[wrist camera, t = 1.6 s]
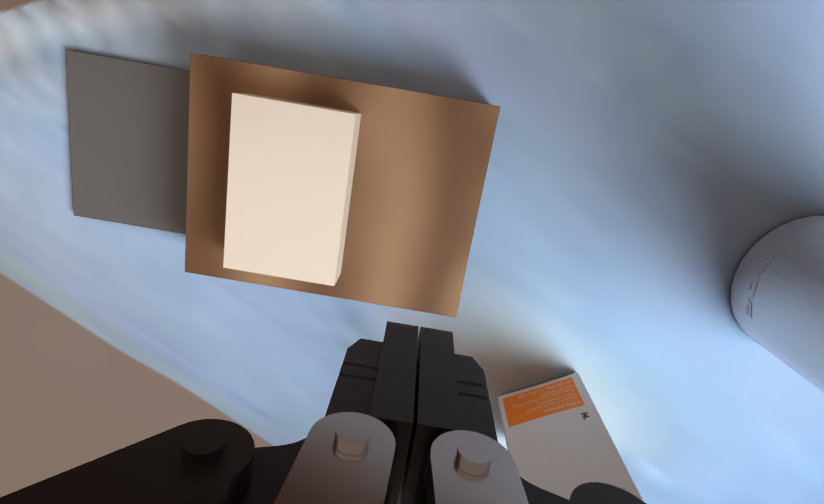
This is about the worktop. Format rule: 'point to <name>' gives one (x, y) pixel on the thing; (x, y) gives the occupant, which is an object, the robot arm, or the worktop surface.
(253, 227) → the cream rectangular block
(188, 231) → the brown flat block
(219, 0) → the worktop surface
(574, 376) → the skincare box
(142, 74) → the mat
